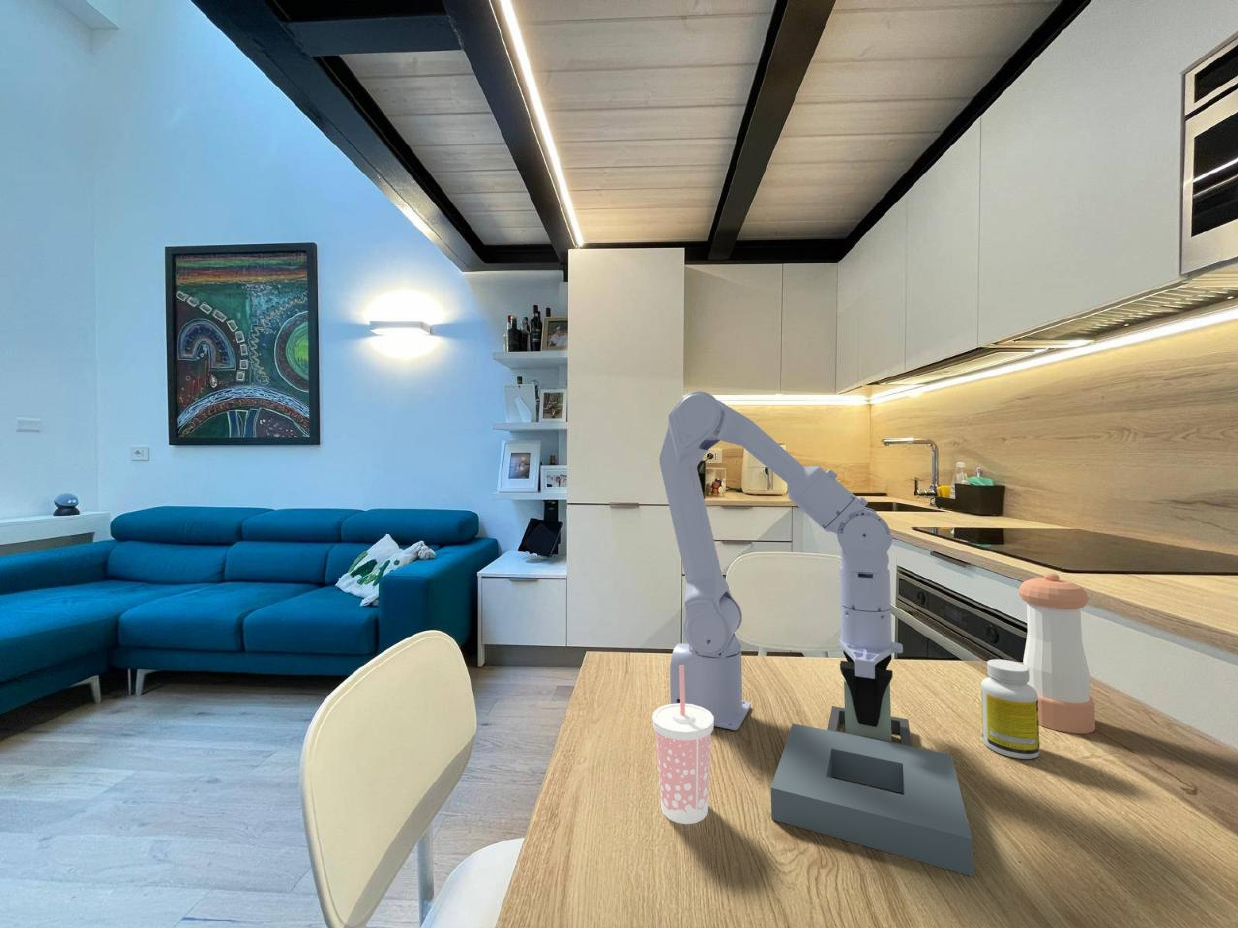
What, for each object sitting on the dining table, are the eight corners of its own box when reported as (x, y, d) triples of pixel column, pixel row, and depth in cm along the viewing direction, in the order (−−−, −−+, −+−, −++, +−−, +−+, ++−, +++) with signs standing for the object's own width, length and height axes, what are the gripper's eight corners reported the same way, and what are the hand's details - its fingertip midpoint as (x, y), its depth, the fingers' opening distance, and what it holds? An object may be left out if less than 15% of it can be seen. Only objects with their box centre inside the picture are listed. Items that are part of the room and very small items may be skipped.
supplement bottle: (1051, 763, 57) (1047, 674, 57) (996, 758, 58) (993, 672, 59) (1023, 738, 63) (1020, 658, 63) (973, 735, 64) (971, 655, 64)
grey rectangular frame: (826, 745, 62) (826, 732, 62) (832, 717, 69) (832, 705, 69) (912, 763, 58) (912, 749, 58) (908, 731, 65) (908, 719, 65)
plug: (845, 738, 63) (843, 673, 63) (847, 724, 66) (845, 662, 66) (891, 748, 60) (889, 679, 61) (891, 732, 64) (889, 668, 64)
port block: (771, 819, 49) (770, 787, 49) (793, 748, 61) (792, 723, 61) (973, 876, 41) (972, 838, 41) (952, 783, 54) (951, 754, 54)
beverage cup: (696, 783, 54) (694, 651, 55) (728, 819, 49) (724, 671, 49) (644, 797, 52) (641, 659, 53) (670, 836, 47) (667, 681, 47)
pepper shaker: (1040, 703, 72) (1034, 566, 72) (1106, 725, 65) (1100, 575, 66) (1010, 714, 69) (1005, 571, 69) (1077, 739, 62) (1071, 581, 63)
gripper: (904, 624, 55) (907, 751, 55) (899, 596, 68) (902, 698, 68) (833, 617, 59) (836, 737, 58) (842, 591, 72) (844, 689, 71)
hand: (868, 715), depth 63 cm, fingers closed on plug, 4 cm apart
